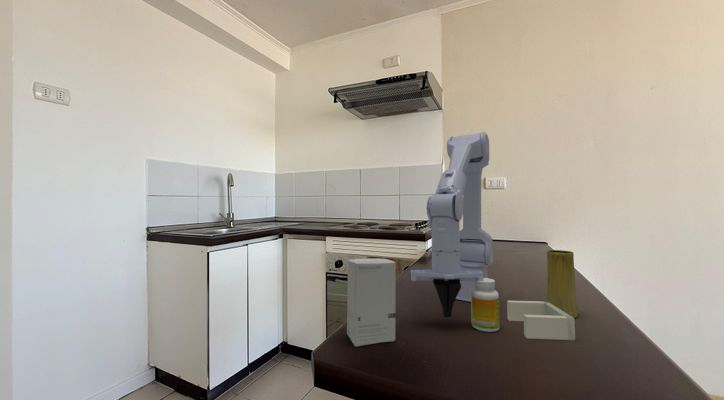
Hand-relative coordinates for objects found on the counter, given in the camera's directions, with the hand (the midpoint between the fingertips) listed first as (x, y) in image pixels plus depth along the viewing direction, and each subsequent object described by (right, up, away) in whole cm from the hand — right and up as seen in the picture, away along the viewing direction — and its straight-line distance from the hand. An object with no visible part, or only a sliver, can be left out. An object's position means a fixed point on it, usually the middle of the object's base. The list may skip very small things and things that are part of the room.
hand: (446, 315), depth 62 cm
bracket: (+18, -2, -2) cm, 18 cm away
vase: (+28, -2, +6) cm, 29 cm away
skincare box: (-16, -2, -5) cm, 17 cm away
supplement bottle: (+8, -2, -1) cm, 8 cm away
